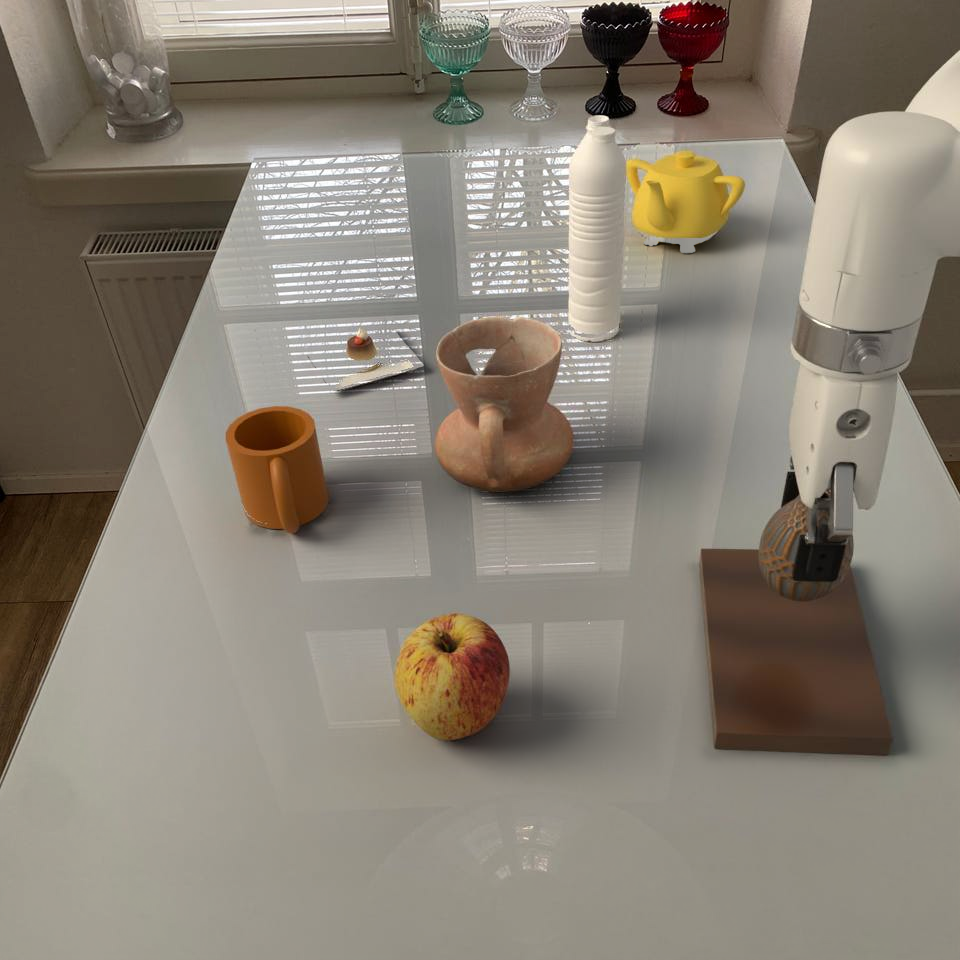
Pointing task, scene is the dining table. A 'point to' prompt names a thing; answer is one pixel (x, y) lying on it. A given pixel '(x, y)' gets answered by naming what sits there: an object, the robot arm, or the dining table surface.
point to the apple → (452, 675)
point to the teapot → (682, 196)
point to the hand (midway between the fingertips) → (807, 544)
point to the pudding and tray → (365, 350)
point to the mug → (278, 467)
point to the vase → (794, 552)
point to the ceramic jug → (502, 405)
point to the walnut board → (787, 664)
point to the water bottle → (596, 231)
